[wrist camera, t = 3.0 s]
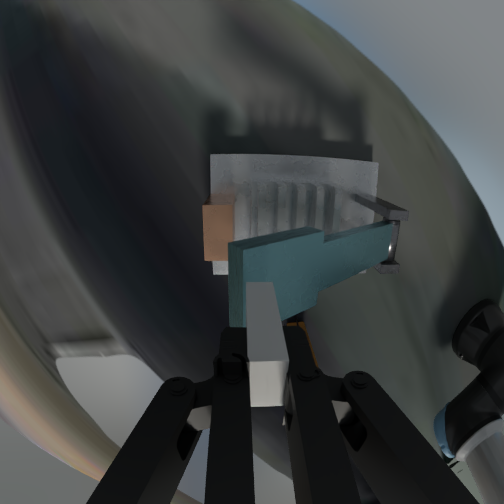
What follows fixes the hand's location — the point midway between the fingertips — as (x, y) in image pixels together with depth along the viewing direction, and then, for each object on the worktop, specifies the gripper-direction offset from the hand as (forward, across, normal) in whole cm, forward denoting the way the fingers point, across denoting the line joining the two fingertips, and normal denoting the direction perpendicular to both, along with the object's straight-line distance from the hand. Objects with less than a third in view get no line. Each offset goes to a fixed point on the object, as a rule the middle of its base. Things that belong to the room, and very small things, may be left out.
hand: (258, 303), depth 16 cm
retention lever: (+8, -7, 0) cm, 11 cm away
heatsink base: (+23, -6, 0) cm, 24 cm away
